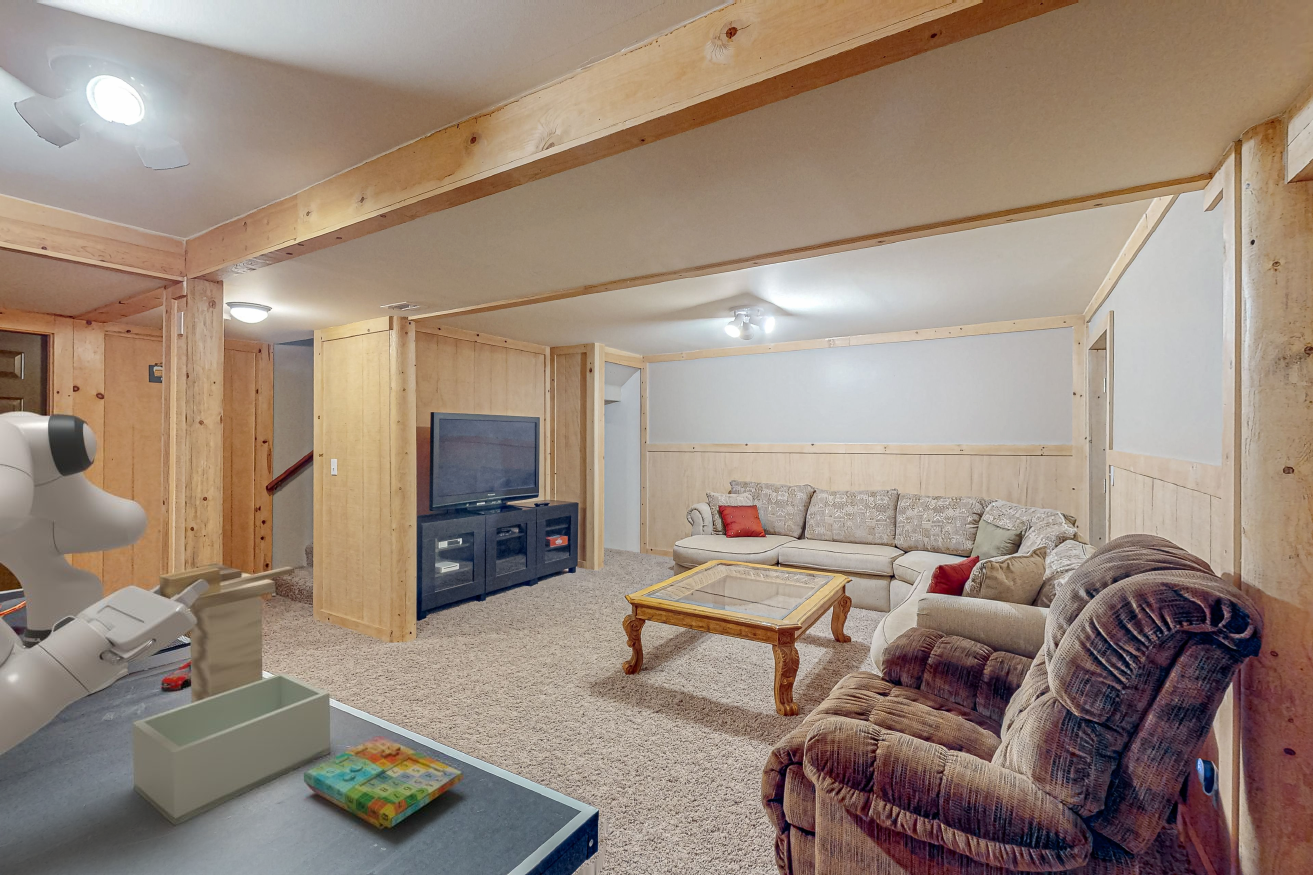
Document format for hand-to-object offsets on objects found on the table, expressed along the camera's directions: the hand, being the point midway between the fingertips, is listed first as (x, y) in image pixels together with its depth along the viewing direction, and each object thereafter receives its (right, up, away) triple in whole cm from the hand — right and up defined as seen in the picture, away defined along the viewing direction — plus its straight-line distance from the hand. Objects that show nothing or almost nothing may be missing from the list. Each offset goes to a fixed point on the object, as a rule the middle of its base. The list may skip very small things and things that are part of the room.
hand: (197, 579), depth 88 cm
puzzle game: (+29, -32, -2) cm, 43 cm away
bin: (+3, -31, +5) cm, 32 cm away
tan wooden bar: (+3, -2, +4) cm, 5 cm away
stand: (-9, -31, +18) cm, 37 cm away
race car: (-30, -31, +38) cm, 58 cm away
